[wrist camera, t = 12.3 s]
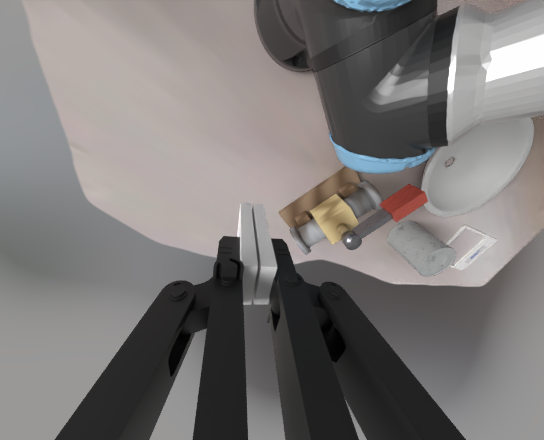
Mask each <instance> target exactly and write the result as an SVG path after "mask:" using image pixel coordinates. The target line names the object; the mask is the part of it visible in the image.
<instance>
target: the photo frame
mask: <svg viewBox="0 0 544 440" xmlns="http://www.w3.org/2000/svg"><path fill="white" fill-rule="evenodd" d="M465 228H467V229H469V230H471V231H473V232H476V233H478V234H480V235H482V236H485V238H484V239H483V240H481V241H480V242H479V243H478V244H477V245H476V246H475V247H474V248H473V249H472V250H470V251H469V252H468V253H467V254H466V255H465V256H464V257H463V258H462V259H460V260H459V261H458V262H457V263H456V264H455V265H450V267H453V268H456V269H459V270H462V271H463V270H464V269H465V268H466V267H467V266H468V265H470V264H471V263H472V262H473V261H474V260H475V259H476V258H478V257H479V256H480V255H481V254H482V253H483V252H485V251H486V250H487V249H488V248H489V247H490V246H491V245H493V244H494V243H495V242H496V241H497V239H494V238H492V237H490V236H488V235H486V234H483V233H481V232H479V231H477V230H475V229H472V228H470V227H468V226H466V225H464V226H463V227H462V228H461V229H460V230H459V231H458V232H457V233H456V234H455V235H454V236H453V237H452V238H451V239H450V240H449V241H447V242H446V243H445V244H446V245H449V244H450V243H451V242H452V241H453V240H454V239H455V238H456V237H457V236H458V235H459V234H460V233H461V232H462V231H463V230H464V229H465Z"/></svg>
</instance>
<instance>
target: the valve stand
mask: <svg viewBox="0 0 544 440" xmlns="http://www.w3.org/2000/svg"><path fill="white" fill-rule="evenodd" d="M382 202H383V199H382V197H381V195H380V194H379V192H378V191H377V190H376V188H375V187H374V186H373V185H372V184H371V183H369V182H368V181H366V180H364V181H362V182H361V181H360V179H359V177H358V174H357V172H356V171H355V170H352V169H350V168H348V167H346V166H345V167H344V168H342V169H341V170H339V171H338V172H336V173H335V174H334V175H332V176H331V177H329V178H328V179H326V180H325V181H323V182H322V183H320V184H319V185H317V186H316V187H314V188H313V189H312V190H310V191H309V192H307V193H306V194H304V195H303V196H301V197H300V198H298V199H297V200H295V201H294V202H292V203H291V204H290V205H288V206H287V207H285V208H284V209H282V210H281V211H279V215H280V216H281V217H282V218H283V220H284V221H285V222H286V223H287V225H288V226H289V227H290V233H291V235H292V237H293V239H294V240H295V242H296V243H297V245H298V246H299V248H300V249H301V250H302V252H303V253H304V254H308V253H310V252H311V250H310V247H311V246H313V245H314V244H316V243H317V242H319V241H321V240H322V239H324V238H326V237H327V238H328V239H329V241H330V242H331V244H332V245H333V244H334V243H336V242H338V241H339V240H341V236H342V234H343V233H344V232H346V231H348V230H352V229H353V228H354V227H356V226H357V225H359V222H358V221H357V219H356V218H358V217H360V216H361V215H363V214H365V213H366V212H368V211H369V210H371V209H373V208H374V209H375V210H377V211H379V210H380V209H381V207H380V205H379V204H380V203H382Z"/></svg>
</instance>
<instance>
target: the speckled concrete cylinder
mask: <svg viewBox="0 0 544 440" xmlns="http://www.w3.org/2000/svg"><path fill="white" fill-rule="evenodd" d="M387 242H388V244H389V245H390V246H392V247H393V248H394V249H395V250H396V251H397V252H398V253H399V254H400V255H401V256H402V257H403V258H404V259H405V260H406V261H407V262H408V263H409V264H410V265H411V266H412V267H413V268H414V269H416V270H417V271H418V273H419V274H420V275H422V276H426V277H428V276H434V275H437V274H439V273H441V272H443V271H444V270H446V269H447V268H448V267H449V266H450V265H451V264H452V263H453V262H454V260H455V258H456V251H455V250H454V249H453V248H451V247H449V246H448V245H446V244H445V243H443V242H442V241H441V240H439V239H438V238H436V237H435V236H433V235H432V234H431V233H429V232H428V231H426V230H425V229H423V228H422V227H421V226H419V225H418V224H417V223H415V222H413V221H405V222H402V223H400V224H398V225H396V226H395V227H394V228H393V229H392V230H391V231H390V233H389V235H388V238H387Z"/></svg>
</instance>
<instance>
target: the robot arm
mask: <svg viewBox="0 0 544 440" xmlns="http://www.w3.org/2000/svg"><path fill="white" fill-rule="evenodd" d="M254 16H255V23H256V28H257V31H258V35H259V37H260V40H261V42H262V44H263V46H264V48H265V50H266V51H267V53H268V54H269V55H270V57H271V58H272V59H273V60H274V61H275V62H276V63H278V64H279V65H280V66H282V67H284V68H286V69H288V70H292V71H307V70H310V69H313V71H314V76H315V80H316V83H317V87H318V91H319V94H320V98H321V102H322V106H323V109H324V113H325V117H326V120H327V124H328V128H329V137H330V140H331V142H332V143H333V144H334V147H335V151H336V154H337V156H338V159H339V160H340V161H341V162H342V163H343V164H344V165H345V166H346V167H348V168H350V169H352V170H355V171H358V172H363V173H371V174H383V173H393V172H398V171H402V170H404V168H405V167H411V168H412V167H415V166H417V165H419V164H421V163H423V162H425V161H426V160H427V159H428V158H429V157H431V155H432V154H433V152H434V151H435V149H436V148H437V147H444V146H451V145H454V144H456V143H457V142H458V141H459V140H461V139H462V138H463V137H464V136H466V135H467V134H468V133H469V132H470V131H472V130H473V129H475V128H477V127H479V126H481V125H487V124H493V123H499V122H505V121H511V120H517V119H523V118H529V117H535V116H541V115H544V0H525V1H522V2H520V3H518V4H515V5H513V6H511V7H508V8H506V9H504V10H501V11H498V12H493V13H488V12H486V11H484V10H481V9H479V8H477V7H475V6H473V5H471V4H468V3H466V4H463V5H460V6H458V7H456V8H454V9H452V10H450V11H448V12H446V13H444V14H442V15H439V16H438V15H437V0H254ZM253 296H254V304H268V302H269V298H270V304H271V307H270V310H269V314H268V318H267V323H269V321H270V323H271V331H272V338H273V346H274V354H275V362H276V370H277V377H278V385H279V393H280V400H281V408H282V415H283V424H284V432H285V439H286V440H359V439H358V436H357V433H356V430H355V427H354V424H353V421H352V418H351V415H350V413H349V410H348V407H347V404H346V401H347V403H348V405H349V407H350V408H351V410H352V412H353V414H354V416H355V418H356V420H357V422H358V424H359V425H360V427H361V429H362V431H363V433H364V435H365V437H366V439H367V440H466V439H465V438H464V437H463V436H462V434H461V433H460V432H459V431H458V429H456V427H455V426H454V424H453V423H452V422H451V421H450V419H449V418H448V417H447V416H446V415H445V414H444V412H443V411H442V410H441V408H440V407H439V406H438V405H437V403H436V402H435V401H434V400H433V399H432V398H431V396H430V395H429V394H428V392H427V391H426V390H425V389H424V387H423V386H422V385H421V384H420V382H419V381H418V380H417V379H416V378H415V377H414V375H413V374H412V373H411V371H410V370H409V369H408V368H407V367H406V365H405V364H404V363H403V361H402V360H401V359H400V358H399V357H398V356H397V354H396V353H395V352H394V351H393V349H392V348H391V347H390V345H389V344H388V343H387V342H386V341H385V339H384V338H383V337H382V336H381V334H380V333H379V332H378V331H377V329H376V328H375V327H374V326H373V324H372V323H371V322H370V321H369V320H368V318H367V317H366V316H365V315H364V314H363V312H362V311H361V310H360V308H359V307H358V306H357V305H356V304H355V302H354V301H353V300H352V299H351V297H350V296H349V295H348V294H347V292H346V291H345V290H344V289H343V288H342V287H341V286H340V285H338V284H336V283H333V282H324V283H322V285H321V286H320V287H319V286H315V285H311V284H308V283H306V282H304V280H303V278H302V277H301V276H300V275H299V274H298V273H296V271H295V267H294V264H293V261H292V258H291V256H290V252H289V249H288V246H287V244H286V243H285V242H284V241H283V239H272V238H271V237H270V232H269V228H268V224H267V219H266V215H265V211H264V206H263V204H253V208H252V209H251V203H242V202H241V204H240V213H239V222H238V232H237V237H229V236H223V237H222V239H221V240H220V241H219V248H218V255H217V261H216V262H215V264H214V271H213V277H212V278H211V279H210V280H209V281H206V282H205V283H202V284H198V285H194V286H193V285H192V283H190V282H188V281H175V282H172V283H170V284H168V285H167V286H165V288H163V289H162V291H161V292H160V293H159V295H158V296H157V298H156V299H155V300H154V302H153V303H152V305H151V306H150V307H149V309H148V310H147V312H146V313H145V314H144V316H143V317H142V319H141V320H140V321H139V323H138V324H137V326H136V327H135V328H134V330H133V331H132V333H131V334H130V335H129V337H128V338H127V340H126V341H125V342H124V344H123V345H122V346H121V348H120V349H119V351H118V352H117V354H116V355H115V356H114V358H113V359H112V360H111V362H110V363H109V365H108V366H107V368H106V369H105V370H104V372H103V373H102V374H101V376H100V377H99V379H98V380H97V381H96V383H95V384H94V386H93V387H92V389H91V390H90V391H89V393H88V394H87V395H86V397H85V398H84V399H83V401H82V402H81V404H80V405H79V407H78V408H77V409H76V411H75V412H74V414H73V415H72V416H71V418H70V419H69V421H68V422H67V423H66V425H65V426H64V427H63V429H62V430H61V432H60V433H59V434H58V436H57V437H56V439H55V440H149V439H150V437H151V434H152V432H153V430H154V427H155V425H156V423H157V420H158V418H159V416H160V413H161V411H162V409H163V406H164V404H165V402H166V399H167V397H168V395H169V392H170V390H171V388H172V385H173V383H174V381H175V378H176V376H177V374H178V371H179V369H180V367H181V365H182V362H183V360H184V358H185V355H186V353H187V351H188V348H189V346H190V344H191V341H192V339H193V337H194V334H195V332H198V331H200V330H203V329H206V328H207V332H206V340H205V348H204V355H203V363H202V371H201V379H200V387H199V394H198V403H197V410H196V418H195V426H194V433H193V440H248V426H247V397H246V368H245V340H244V312H243V305H247V304H248V305H250V304H251V302H252V297H253ZM344 397H345V398H344ZM345 399H346V401H345Z"/></svg>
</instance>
